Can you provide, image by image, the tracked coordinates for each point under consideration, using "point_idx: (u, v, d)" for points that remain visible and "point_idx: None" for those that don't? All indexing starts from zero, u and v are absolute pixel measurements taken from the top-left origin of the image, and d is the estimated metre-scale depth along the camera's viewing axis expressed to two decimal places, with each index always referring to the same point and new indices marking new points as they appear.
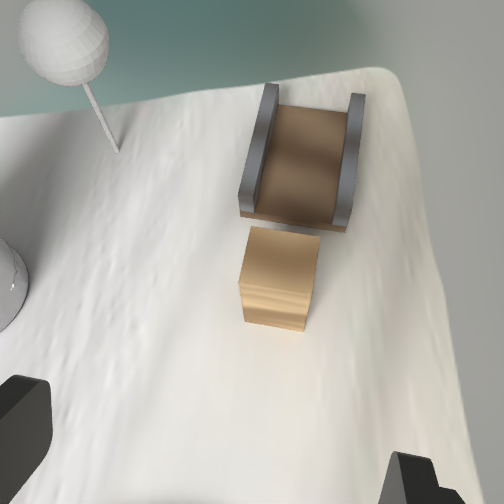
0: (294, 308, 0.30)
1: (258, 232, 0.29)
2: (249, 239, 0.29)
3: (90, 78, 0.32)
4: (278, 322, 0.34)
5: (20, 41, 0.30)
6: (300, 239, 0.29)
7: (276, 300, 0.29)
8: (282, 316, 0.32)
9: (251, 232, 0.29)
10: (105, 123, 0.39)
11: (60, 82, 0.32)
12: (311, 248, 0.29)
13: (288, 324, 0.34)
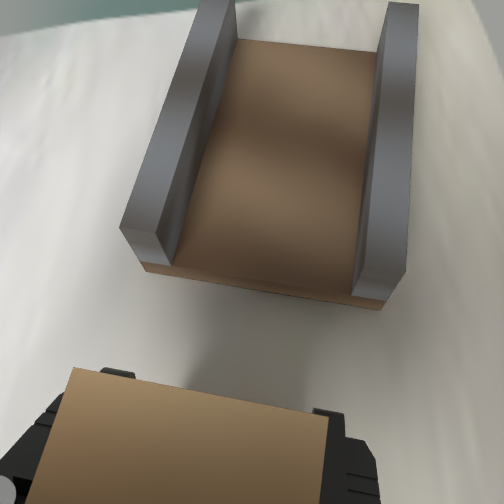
0: None
1: (95, 395, 0.08)
2: (57, 425, 0.08)
3: None
4: None
5: None
6: (251, 427, 0.08)
7: None
8: None
9: (70, 394, 0.08)
10: None
11: None
12: (295, 470, 0.07)
13: None
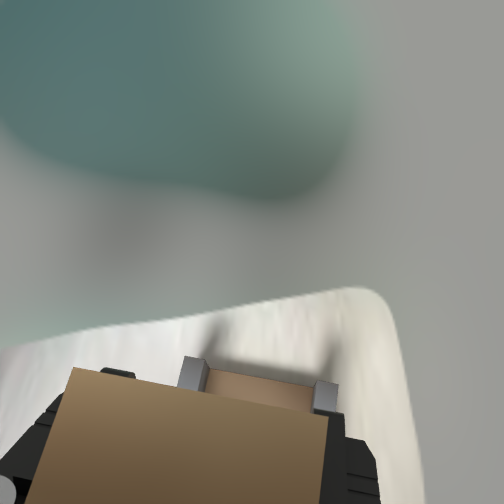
0: None
1: (95, 395, 0.08)
2: (57, 425, 0.08)
3: None
4: None
5: None
6: (251, 427, 0.08)
7: None
8: None
9: (70, 394, 0.08)
10: None
11: None
12: (295, 470, 0.07)
13: None
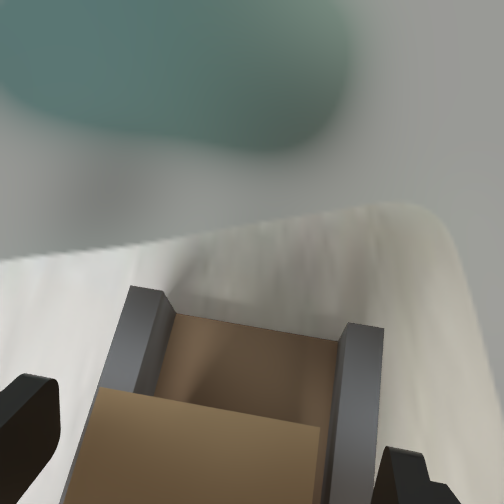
0: None
1: (120, 411, 0.09)
2: (88, 438, 0.09)
3: None
4: None
5: None
6: (254, 437, 0.09)
7: None
8: None
9: (97, 410, 0.09)
10: None
11: None
12: (291, 474, 0.08)
13: None
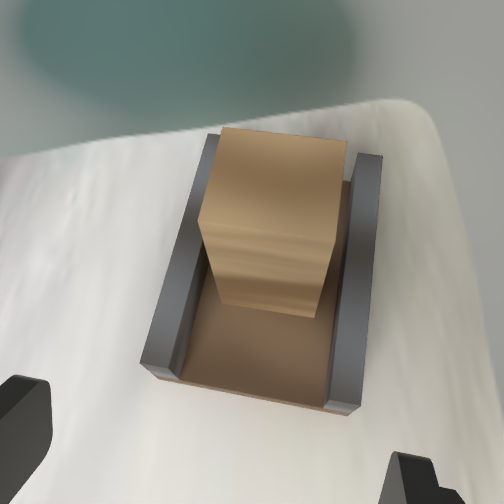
0: (300, 272, 0.17)
1: (235, 136, 0.16)
2: (219, 148, 0.16)
3: None
4: (274, 302, 0.21)
5: None
6: (311, 146, 0.16)
7: (269, 257, 0.16)
8: (281, 290, 0.19)
9: (223, 136, 0.16)
10: None
11: None
12: (332, 160, 0.16)
13: (290, 305, 0.21)
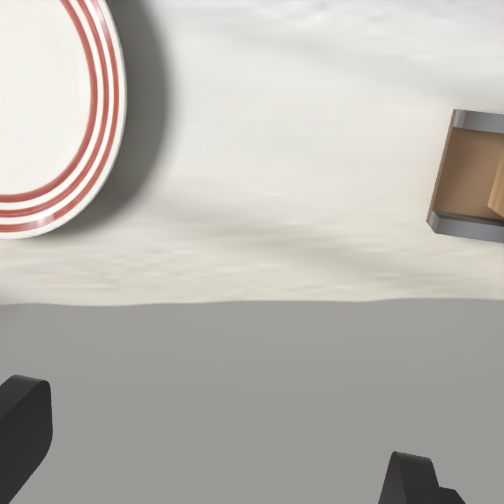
0: None
1: None
2: None
3: None
4: (499, 184, 0.34)
5: None
6: None
7: None
8: None
9: None
10: None
11: None
12: None
13: (496, 194, 0.34)
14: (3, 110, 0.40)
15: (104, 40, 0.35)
